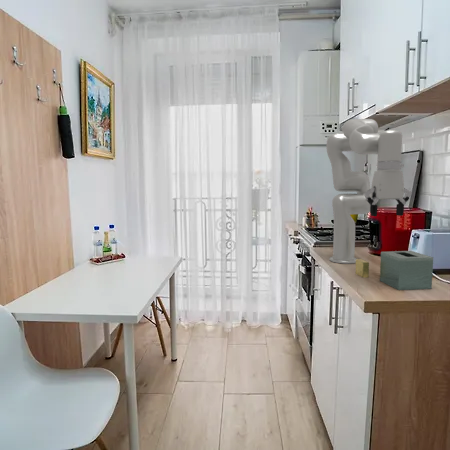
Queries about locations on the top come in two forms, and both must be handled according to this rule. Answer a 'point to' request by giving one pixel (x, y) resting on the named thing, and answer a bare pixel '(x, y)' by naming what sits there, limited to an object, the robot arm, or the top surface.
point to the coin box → (406, 270)
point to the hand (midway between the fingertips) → (386, 215)
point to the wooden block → (362, 268)
